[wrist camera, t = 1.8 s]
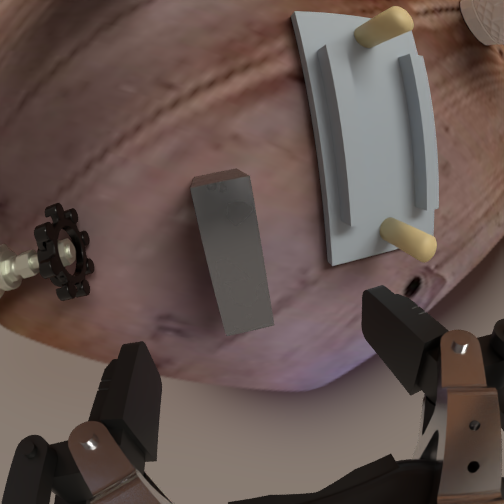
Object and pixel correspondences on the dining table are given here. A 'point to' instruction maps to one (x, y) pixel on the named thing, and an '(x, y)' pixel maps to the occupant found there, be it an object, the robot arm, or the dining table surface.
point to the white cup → (485, 20)
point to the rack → (371, 133)
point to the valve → (51, 257)
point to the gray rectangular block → (233, 249)
